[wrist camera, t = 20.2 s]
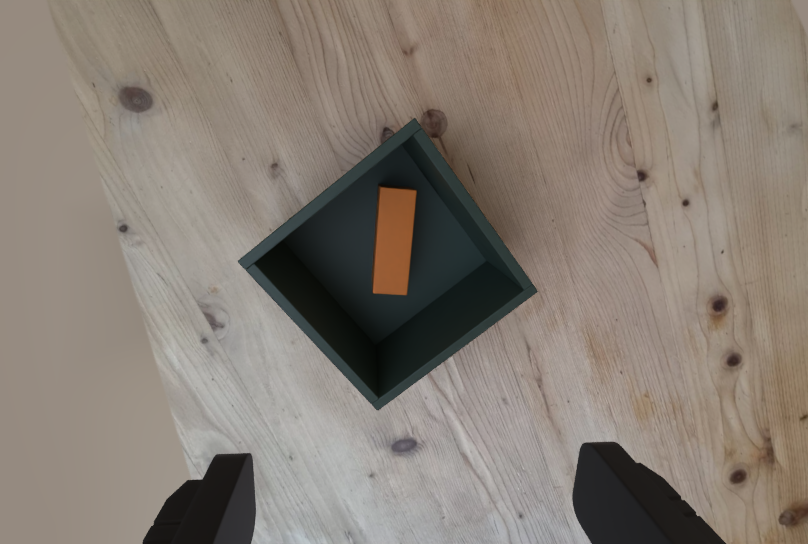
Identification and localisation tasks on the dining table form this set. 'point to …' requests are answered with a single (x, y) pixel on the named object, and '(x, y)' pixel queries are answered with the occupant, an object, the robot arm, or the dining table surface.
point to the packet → (393, 239)
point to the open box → (428, 276)
